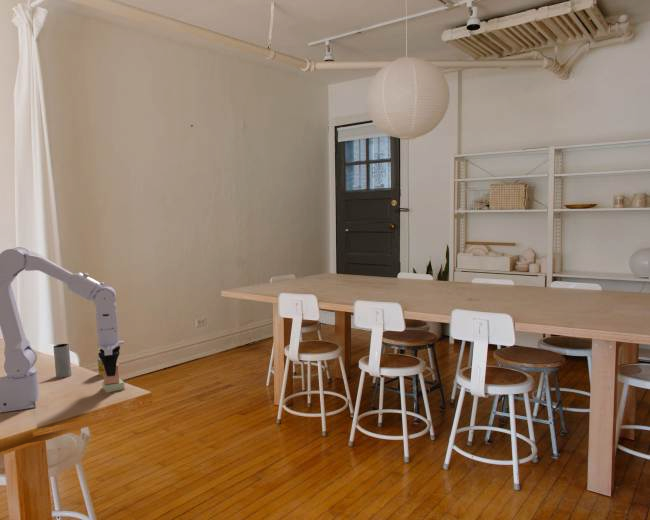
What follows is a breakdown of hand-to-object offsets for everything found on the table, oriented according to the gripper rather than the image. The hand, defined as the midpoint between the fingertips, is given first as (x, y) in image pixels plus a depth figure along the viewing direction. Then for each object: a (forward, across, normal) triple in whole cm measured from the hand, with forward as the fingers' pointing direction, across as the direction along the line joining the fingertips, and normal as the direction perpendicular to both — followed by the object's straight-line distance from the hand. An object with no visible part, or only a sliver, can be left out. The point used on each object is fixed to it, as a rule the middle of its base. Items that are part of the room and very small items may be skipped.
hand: (111, 373), depth 155 cm
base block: (+7, 0, 0) cm, 7 cm away
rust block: (+2, 0, 0) cm, 2 cm away
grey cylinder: (+6, +27, +16) cm, 32 cm away
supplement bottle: (+6, +18, +2) cm, 19 cm away
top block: (+5, 0, 0) cm, 5 cm away
